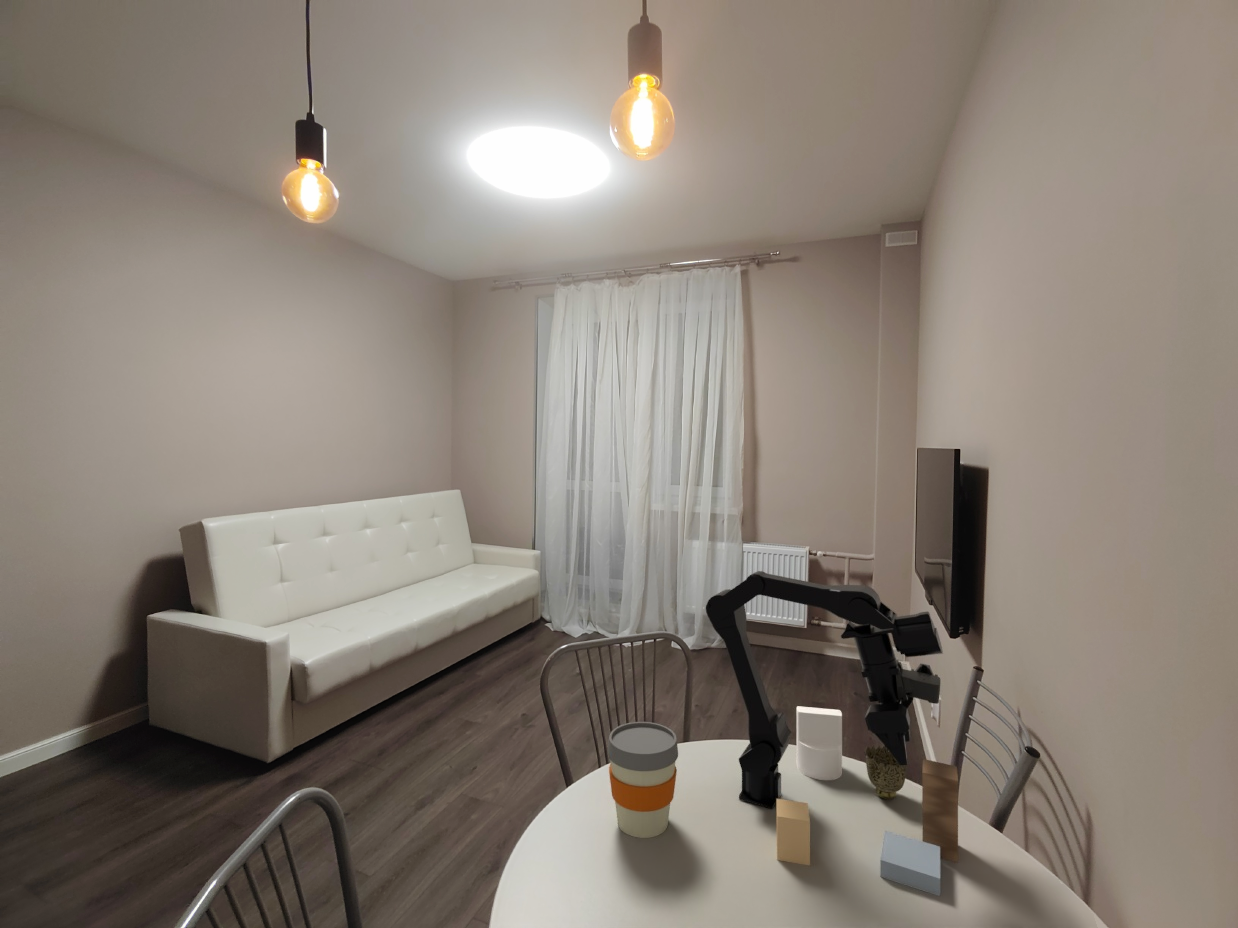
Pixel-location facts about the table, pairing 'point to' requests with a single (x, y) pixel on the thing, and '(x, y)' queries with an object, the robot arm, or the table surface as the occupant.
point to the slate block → (911, 862)
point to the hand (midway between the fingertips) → (905, 752)
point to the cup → (884, 772)
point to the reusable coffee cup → (642, 776)
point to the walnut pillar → (940, 807)
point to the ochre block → (793, 832)
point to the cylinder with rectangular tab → (819, 742)
